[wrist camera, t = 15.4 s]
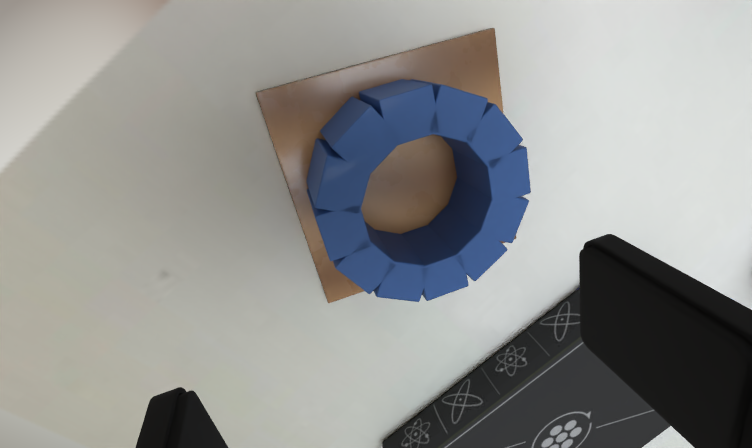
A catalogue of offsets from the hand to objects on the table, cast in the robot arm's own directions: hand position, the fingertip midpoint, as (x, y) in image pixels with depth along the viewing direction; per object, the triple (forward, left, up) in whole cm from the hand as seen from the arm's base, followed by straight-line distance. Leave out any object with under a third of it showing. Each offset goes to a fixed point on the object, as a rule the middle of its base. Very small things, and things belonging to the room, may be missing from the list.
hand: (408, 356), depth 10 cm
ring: (+1, +4, -13) cm, 14 cm away
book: (+22, +11, -14) cm, 28 cm away
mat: (+1, +4, -14) cm, 14 cm away
